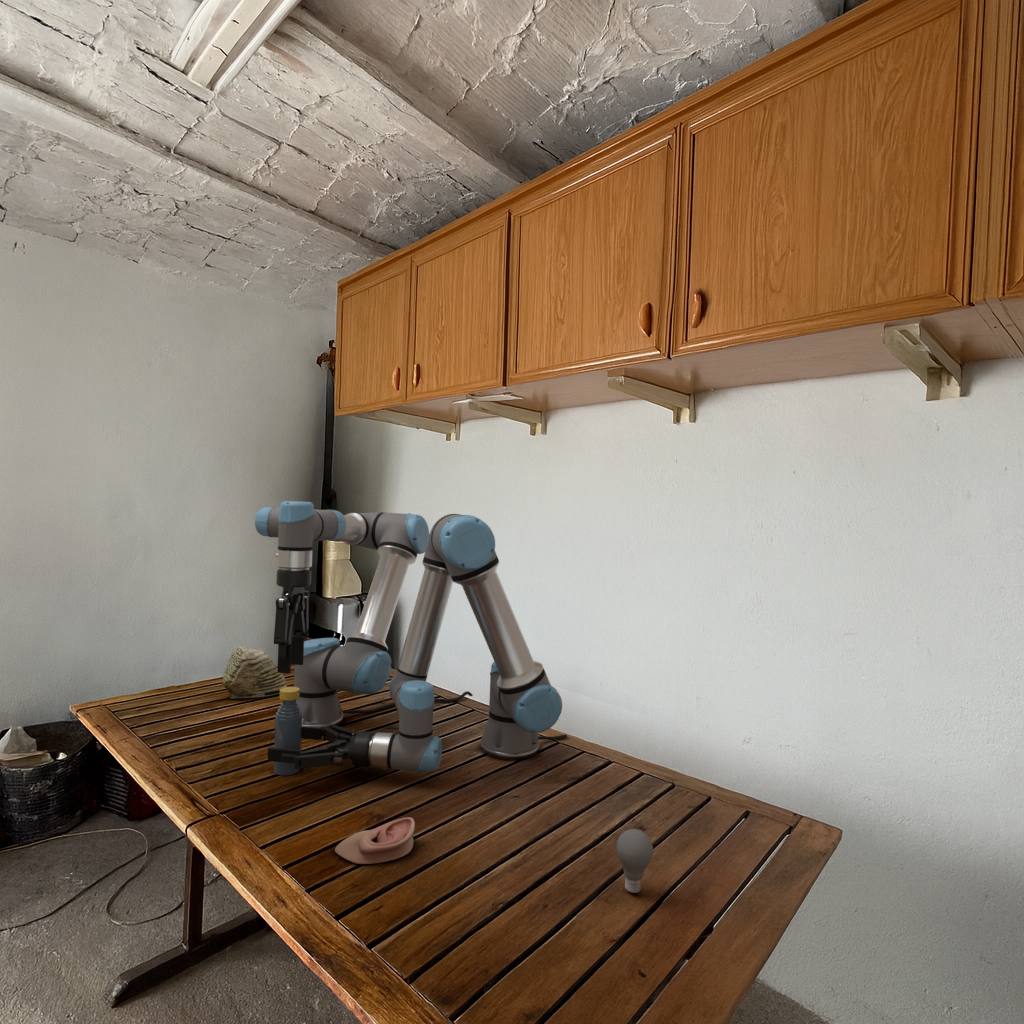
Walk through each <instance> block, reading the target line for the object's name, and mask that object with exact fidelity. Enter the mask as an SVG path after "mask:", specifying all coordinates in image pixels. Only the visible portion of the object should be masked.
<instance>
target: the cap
mask: <svg viewBox="0 0 1024 1024" xmlns="http://www.w3.org/2000/svg"><path fill="white" fill-rule="evenodd" d="M299 695H300V688H298V687H294V686H287V687H284V688H281V689H280V694H279V699H280V700H281V701H282V700H295V699H298V698H299Z"/></svg>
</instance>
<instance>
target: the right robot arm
mask: <svg viewBox="0 0 1024 1024" xmlns="http://www.w3.org/2000/svg"><path fill="white" fill-rule="evenodd" d="M495 549H496V538H495V535H494V532H493V530H492V529H491V527H490V526H489V524H488V523H486V522H485V521H483V520H482V519H480V518H479V517H478V516H474V515H470V514H459V513H449V514H445V515H443V516H441V517H440V518H439V519H437V520H436V521H435V523H434V524H433V525H432V527H431V530H429V538H428V542H427V546H426V550H425V552H424V555H423V558H422V565H423V568H424V571H423V573H422V578H421V581H420V585H419V589H418V593H417V596H416V600H415V602H414V607H413V611H412V614H411V619H410V622H409V625H408V629H407V633H406V636H405V639H404V643H403V648H402V651H401V654H400V659H399V663H398V666H397V668H396V671H395V675H393V677H392V678H391V679H390V682H389V685H388V689H389V696H390V698H391V700H392V701H393V702H394V703H395V705H394V706H395V707H396V709H397V711H398V716H399V719H398V733H393V732H380V731H377V732H376V733H375V732H373V731H365V730H364V731H362V730H360V731H356V730H351V729H348V728H346V727H342V726H340V725H339V726H336V725H333V724H330V725H329V727H324V728H323V729H322V728H319V727H306V726H302V733H301V740H302V739H303V740H315V741H322V742H326V741H327V742H328V744H327V745H325V746H323V747H317V748H313V749H307V750H301V752H300V750H299V749H296V750H294V749H282V748H274V747H269V748H267V762H272V763H274V762H285V763H295V769H300V770H303V769H310V768H320V767H329V766H335V767H336V766H338V767H339V766H343V761H344V760H350V762H351V764H352V765H353V767H359V768H369V767H371V768H374V769H382V770H383V771H386V770H396V771H397V770H399V771H406V772H407V771H409V772H416V773H434V772H436V771H438V769H439V768H440V765H441V761H442V756H443V755H442V754H443V741H442V739H441V738H440V737H438V736H435V735H434V731H433V727H434V726H433V722H434V707H435V706H434V705H435V702H434V700H435V689H434V685H433V684H432V683H431V682H429V681H427V679H428V675H429V671H430V667H431V664H432V660H433V657H434V653H435V650H436V645H437V642H438V638H439V634H440V631H441V627H442V624H443V620H444V616H445V613H446V609H447V607H448V606H447V605H448V602H449V598H450V594H451V591H452V588H453V584H454V583H455V584H457V585H459V586H461V587H462V589H463V591H464V594H465V596H466V598H467V601H468V603H469V606H470V608H471V610H472V612H473V615H474V617H475V619H476V622H477V624H478V626H479V629H480V631H481V633H482V636H483V638H484V641H485V643H486V645H487V648H488V650H489V652H490V654H491V657H492V659H493V662H492V663H491V665H490V672H489V676H490V677H489V702H488V703H489V704H488V705H489V706H488V719H487V722H486V724H485V727H484V730H483V733H482V734H481V738H480V750H481V751H482V752H483V753H484V754H485V755H487V756H489V757H492V758H495V759H500V760H505V761H506V760H509V761H518V760H526V759H529V758H532V757H535V756H536V755H538V753H539V752H540V741H541V740H545V741H556V740H557V741H558V740H561V739H566V738H568V735H567V734H566V733H565V734H561V735H556V736H555V735H554V736H548V735H546V736H545V735H538V734H541V733H545V732H546V731H548V730H550V729H551V728H552V727H554V725H555V724H556V723H557V722H558V720H559V718H560V716H561V714H562V711H563V699H562V696H561V695H560V693H559V691H558V690H557V689H556V688H555V687H554V686H552V684H551V681H550V680H549V678H548V675H547V673H546V670H545V667H544V666H543V664H542V662H539V661H537V660H535V659H534V658H533V656H532V653H531V650H530V648H529V646H528V644H527V642H526V639H525V637H524V634H523V632H522V629H521V627H520V624H519V622H518V620H517V617H516V615H515V613H514V610H513V608H512V605H511V603H510V600H509V598H508V596H507V593H506V591H505V589H504V586H503V584H502V581H501V579H500V577H499V574H498V572H497V569H498V567H499V564H500V559H499V557H498V555H497V552H496V550H495Z"/></svg>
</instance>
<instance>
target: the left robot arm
mask: <svg viewBox="0 0 1024 1024" xmlns="http://www.w3.org/2000/svg"><path fill="white" fill-rule="evenodd" d="M254 527H255V531H256V532H257V533H258V534H259V535H261V536H262V537H268V538H276V539H277V538H278V539H277V553H276V554H275V557H276V558H277V560H276V561H277V563H276V566H277V568H278V569H277V570H276V586H277V587H281V588H282V593H281V597H280V598H279V597H276V599H275V619H274V631H273V632H274V633H273V644H274V645H278V646H277V668H278V670H277V673H282V674H290V673H292V672H291V671H292V670H291V668H292V666H293V665H294V670H293V671H294V672H293V687H298V688H300V695H299V698H298V699H296V702H298V705H299V708H300V710H301V711H302V726H306V727H319V728H322V729H323V728H324V727H329V725H330V724H333V725H336V726H339V727H340V725H342V723H343V722H344V715H345V714H346V715H347V714H369V713H375V712H378V711H381V710H384V709H388V708H392V707H394V706H396V705H395V703H394V701H393V702H390V703H387V704H384V705H381V706H377V707H374V708H369V709H342V706H341V702H340V699H339V695H338V691H341V692H347V693H353V694H356V695H367V696H368V695H375V694H376V693H378V692H379V691H381V690H382V689H383V688H384V686H385V685H386V683H387V682H388V680H389V678H390V675H391V671H392V658H391V656H390V655H391V654H389V653H388V652H389V647H388V645H387V643H386V640H387V636H388V633H389V630H390V627H391V624H392V621H393V618H394V614H395V611H396V607H397V605H398V601H399V598H400V595H401V591H402V589H403V585H404V582H405V579H406V575H407V574H408V573H407V572H408V569H409V566H411V565H412V564H415V563H416V561H417V557H418V555H422V554H425V550H426V546H427V542H428V538H429V534H430V529H429V525H428V522H427V520H426V519H425V518H424V517H423V516H422V515H419V514H415V513H414V514H413V513H410V512H408V513H398V512H384V511H383V512H382V511H377V512H376V511H375V512H374V511H373V512H360V513H359V512H349V513H346V514H343V513H342V512H341V511H338V510H336V509H327V508H326V509H315V505H314V503H313V502H312V501H295V500H293V501H292V500H284V501H282V502H281V503H280V504H279V507H276V506H265V507H262V508H260V509H259V510H258V511H257V513H256V515H255V519H254ZM322 541H323V542H324V541H326V542H327V541H328V542H332V541H333V542H334V541H335V542H336V541H337V542H342V543H344V544H346V545H349V546H356V547H361V548H365V549H370V550H374V551H376V550H377V553H378V554H379V556H380V558H379V561H378V564H377V567H376V570H375V573H374V575H373V579H372V582H371V584H370V587H369V589H368V594H367V596H366V600H365V602H364V605H363V608H362V611H361V613H360V617H359V621H358V622H357V626H356V629H355V632H354V633H353V634H351V635H350V636H348V637H347V638H346V641H345V644H344V646H343V645H340V644H341V642H340V640H339V638H337V637H321V638H313V639H307V640H305V637H309V634H310V633H309V618H310V617H309V607H310V606H309V601H310V591H309V590H305V588H306V587H309V586H311V584H312V570H311V569H310V568H312V567H313V542H322ZM292 631H293V632H292ZM292 633H293V636H292ZM465 696H469V697H473V696H474V695H473V693H471V691H467V690H466V691H463V693H461V694H460V695H459V696H457V697H454V698H435V697H434V698H435V700H434V703H436V702H437V703H453V702H458V701H460V700H462V699H463V698H464V697H465Z"/></svg>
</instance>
